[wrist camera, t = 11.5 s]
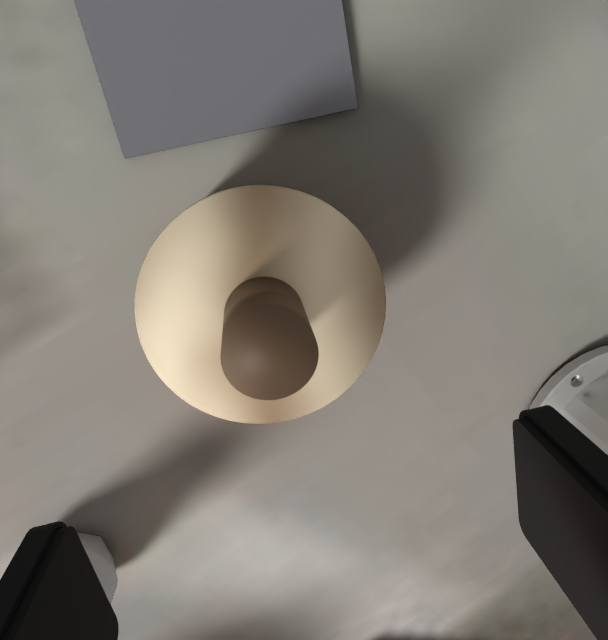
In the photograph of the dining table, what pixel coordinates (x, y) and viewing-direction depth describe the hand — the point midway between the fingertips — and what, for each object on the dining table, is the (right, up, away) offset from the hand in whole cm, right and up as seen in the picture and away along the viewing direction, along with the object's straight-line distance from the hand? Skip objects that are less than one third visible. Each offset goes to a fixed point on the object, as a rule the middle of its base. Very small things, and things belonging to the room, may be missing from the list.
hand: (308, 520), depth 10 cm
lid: (-2, +5, +12) cm, 13 cm away
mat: (-4, +19, +13) cm, 24 cm away
